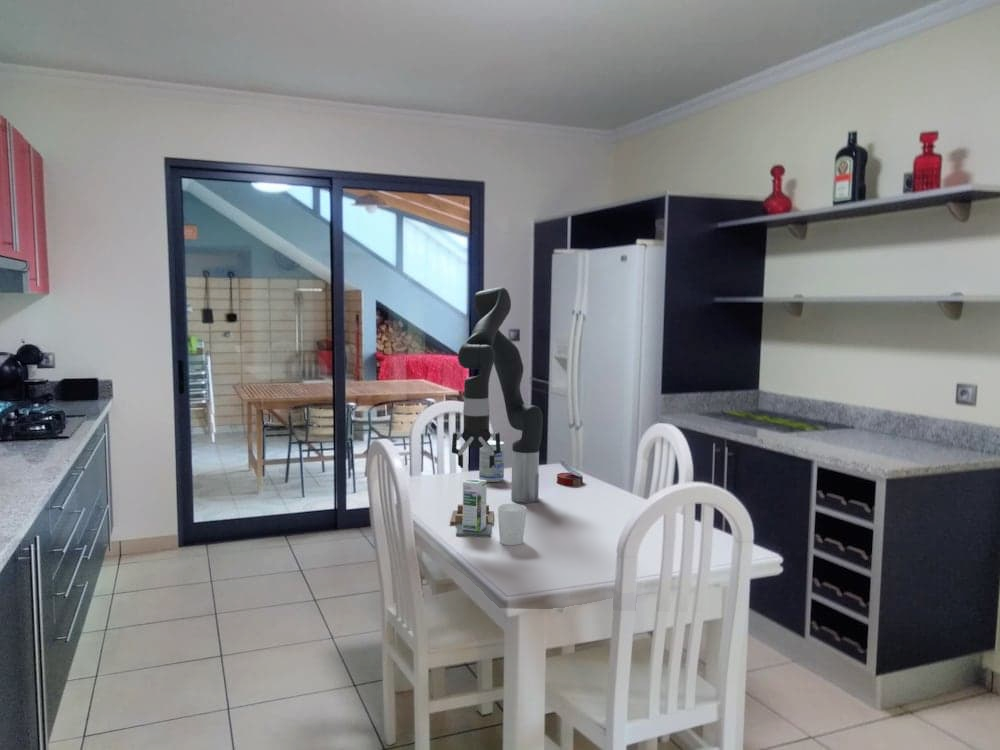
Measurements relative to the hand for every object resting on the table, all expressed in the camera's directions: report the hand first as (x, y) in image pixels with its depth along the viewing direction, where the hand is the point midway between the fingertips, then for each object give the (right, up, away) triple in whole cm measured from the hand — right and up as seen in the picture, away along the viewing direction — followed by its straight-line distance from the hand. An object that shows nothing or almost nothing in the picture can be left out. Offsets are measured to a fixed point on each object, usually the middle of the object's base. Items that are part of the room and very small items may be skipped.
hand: (476, 467), depth 214 cm
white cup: (+10, -20, -7) cm, 24 cm away
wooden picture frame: (-2, -18, +14) cm, 23 cm away
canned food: (+34, -14, +65) cm, 74 cm away
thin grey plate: (-1, -19, +2) cm, 19 cm away
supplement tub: (+4, -14, +67) cm, 68 cm away
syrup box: (-1, -19, +2) cm, 19 cm away
